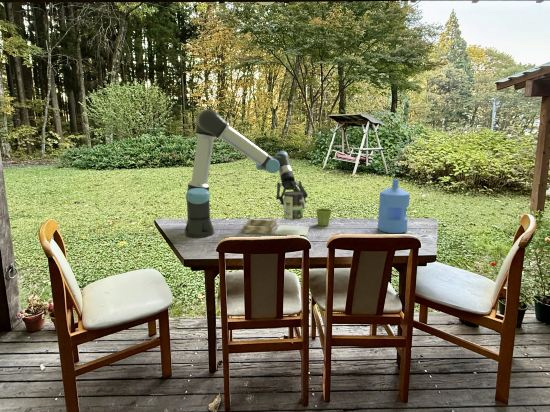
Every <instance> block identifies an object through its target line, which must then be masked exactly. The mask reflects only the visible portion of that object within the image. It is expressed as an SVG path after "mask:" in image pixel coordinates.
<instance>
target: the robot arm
mask: <svg viewBox="0 0 550 412" xmlns="http://www.w3.org/2000/svg"><path fill="white" fill-rule="evenodd" d="M194 133H195V135H196V137H197V139H196V140H197V141H196V147H195V152H194V162H193V168H192V176H191V181H189V182H188V184H187V190H186V193H185V200H186V212H187V213H186V214H187V220H186V225H185V228H184V235H185V236H186V237H190V238H205V237H210V236H212V235H214V234H215V229H214V226H213V223H212V221H211V211H210V210H211V207H210V205H211V204H210V198H211V195H210V192H209V191H210V185H209V184H208V183H209V182H208V181H209V180H208V179H209V174H210V167H211V160H212V154H213V147H214V142H215V141H214V140H216V139H222V140H223V141H224V142H226V143H228V145H230V146H231V147H233V148H234V149H236V151H238V152H240V153H242V155H244V156H245V157H247V158H248V159H250V160H251V161H252V162H254V163H255V168H256V170H258V171H266V172H267V173H269V174H276V173H278V174H279V177H280V182H279V181H278V182H276V198H275V199H276V200H277V201H279V202H280V205H281V206H282V207H283V212H284V211H286V209H287V207H286V203H285V199H284V193H285V192H287V191H298V192H302V193H303V210H304V211H305V210H306V208H307V204H306V203H307V199H306V198H308V195H309V194H308V192H307V191H306V190H305V188H304V186H303V185H302V182H301V181H297V182H296V179H295V175H294V171H293V168H292V164H291V161H290V157H289V154H288V152H287V151H285V150H280V151H278V152H276V153H275V155H270V154H268V153H267V152H266V151H264V150H263V149H262V148H260V147H259V146H258V145H256V144H255V143H253V142H252V141H250V140H249V139H248V138H247V137H245V136H244V135H242V134H241V133H240V132H238V131H237V130H236V129H235V128H232V126H230V123H229V122H228V121H227V120H226V119H224V118H223V117H222V116H221V115H220V114H219V113H218V112H217V111H215V110H213V109H204V110H202V111H201V112H200V113H198V115H197V117H196V127H195V132H194ZM281 187H282V188H283V189H282V192H281V195H280V191H281Z"/></svg>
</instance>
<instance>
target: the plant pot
mask: <svg viewBox="0 0 550 412" xmlns="http://www.w3.org/2000/svg"><path fill="white" fill-rule="evenodd" d="M315 212H316V219H317V225H318V226H321V227H323V226H324V227H325V226H329V225H330V220H331V214H332V212H333V210H332V209H330V208H316V209H315Z"/></svg>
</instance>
